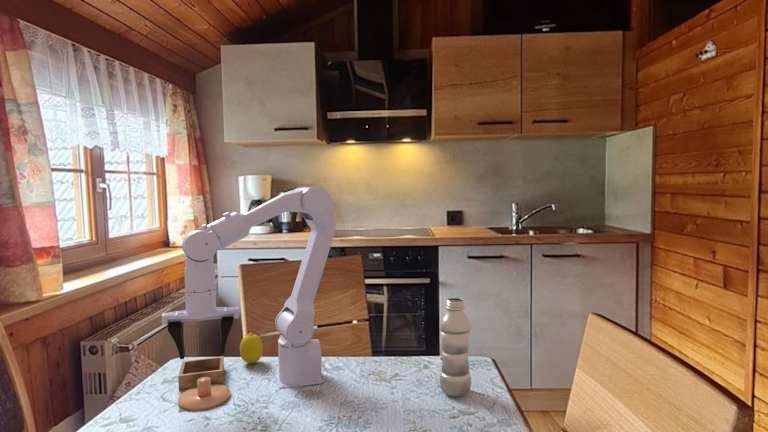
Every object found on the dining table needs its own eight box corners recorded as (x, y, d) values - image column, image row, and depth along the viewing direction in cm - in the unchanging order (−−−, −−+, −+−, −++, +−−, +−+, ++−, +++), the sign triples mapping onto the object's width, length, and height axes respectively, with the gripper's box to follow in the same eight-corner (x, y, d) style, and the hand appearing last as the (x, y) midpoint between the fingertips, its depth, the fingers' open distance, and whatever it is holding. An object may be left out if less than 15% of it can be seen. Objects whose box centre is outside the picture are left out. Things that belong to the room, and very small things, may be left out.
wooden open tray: (224, 370, 110) (223, 356, 110) (223, 385, 102) (222, 370, 101) (183, 375, 107) (182, 361, 107) (178, 391, 99) (178, 376, 99)
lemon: (257, 369, 110) (256, 337, 110) (235, 368, 112) (234, 336, 111) (267, 361, 116) (266, 330, 115) (247, 359, 117) (246, 329, 116)
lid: (230, 385, 101) (229, 367, 101) (230, 405, 92) (229, 386, 91) (180, 391, 98) (180, 373, 98) (175, 413, 89) (174, 393, 88)
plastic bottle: (477, 392, 97) (477, 299, 96) (459, 404, 92) (459, 305, 91) (451, 384, 101) (451, 294, 100) (433, 394, 96) (432, 300, 95)
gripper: (237, 283, 99) (239, 344, 100) (164, 288, 95) (166, 352, 96) (238, 290, 93) (240, 355, 94) (158, 296, 88) (161, 365, 89)
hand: (202, 355), depth 94 cm, fingers open, 7 cm apart
